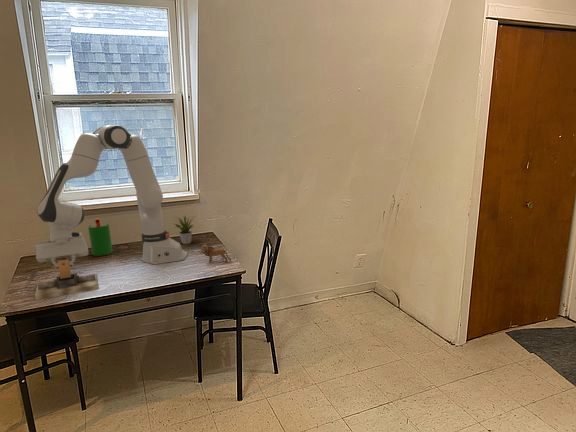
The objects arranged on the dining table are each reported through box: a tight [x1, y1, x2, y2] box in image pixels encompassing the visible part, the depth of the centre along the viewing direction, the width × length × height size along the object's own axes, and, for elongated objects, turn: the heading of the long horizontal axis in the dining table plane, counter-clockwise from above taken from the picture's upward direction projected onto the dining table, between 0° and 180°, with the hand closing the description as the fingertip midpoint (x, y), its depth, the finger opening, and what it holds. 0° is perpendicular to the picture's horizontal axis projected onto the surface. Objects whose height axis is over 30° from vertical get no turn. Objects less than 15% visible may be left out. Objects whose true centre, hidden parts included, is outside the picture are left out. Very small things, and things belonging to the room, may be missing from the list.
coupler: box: [57, 257, 72, 279], centre depth 183 cm, size 4×4×8 cm
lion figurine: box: [200, 244, 232, 263], centre depth 212 cm, size 15×5×9 cm, turn 94°
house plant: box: [172, 214, 196, 245], centre depth 245 cm, size 14×14×16 cm
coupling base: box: [34, 272, 100, 301], centre depth 185 cm, size 24×14×5 cm, turn 116°
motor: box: [87, 217, 113, 257], centre depth 229 cm, size 10×9×20 cm
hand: (64, 266), depth 183 cm, fingers closed on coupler, 4 cm apart
